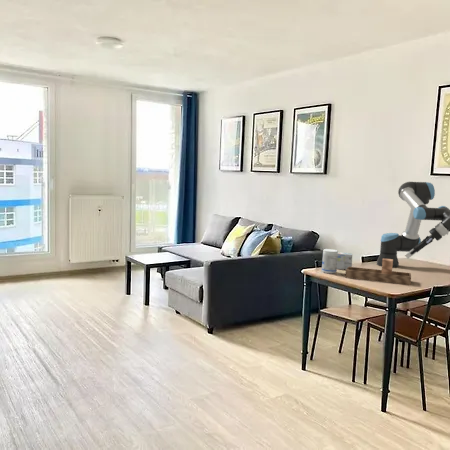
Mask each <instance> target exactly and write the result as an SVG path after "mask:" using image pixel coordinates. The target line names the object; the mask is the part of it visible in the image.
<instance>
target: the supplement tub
mask: <svg viewBox="0 0 450 450" xmlns="http://www.w3.org/2000/svg"><path fill="white" fill-rule="evenodd" d="M338 253H339V251H338V250H337V249H331V248H325V249H323V250H322V259H321V260H322V261H321V262H322V263H321V272H322V273H325V274H332V275H333V274H336V273H337V270H338V269H337V259H338Z"/></svg>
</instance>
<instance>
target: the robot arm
mask: <svg viewBox="0 0 450 450" xmlns="http://www.w3.org/2000/svg"><path fill="white" fill-rule="evenodd" d="M397 192H398V193H397V194H398V197H399V198H400V199H401V200H402V201H404V202H405V203H406V204H407V205H408V206H409V207H410V211H409V215H408V219H407V222H406V227H405V229H404V230H403V231H402V233H401V235H399V233H397V232H389V233H387V232H386V233H383V234H382V235H381V238H380V247H379V248H380V249H379V250H380V251H379V256H378V258H377V260H376V265H377V266H379V267H382V261H383V258H384V259H393V266H392V268H397V267H399V264H400V263H399V259H398V252H403V253H404V252H407V253H405V254H404V257H406V259H407V260H409V259H410V258H411V257H412V256H414V255H415V254H416V253H418V252H420V251H421V250H422V249H424V248H425V247H426V246H428V245H429V244H431V243H432V242H434V239H435V240H436V241H437V242H438V241H440V240H441V239H443V237H445V236H448V235H449V232H450V208H449V207H447V206H445V205H441V206H438V207H428V206H427V205H428V204H429V203H430V201H431V200H434V198H435V195H436V191H435V187H434V184H433V183H431V182H427V181H406V182H403V183H402V184H401V185H400V186H399V188H398V191H397ZM422 221H440V222H439V223H437V224H436V225H434V227H432V228H431V229H430V230H429V231H428V232H429V234H430V235H427V236H425V238H424V239H423V240H421V237H420V235H419V230H420V227H421V223H422Z"/></svg>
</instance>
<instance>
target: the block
mask: <svg viewBox="0 0 450 450" xmlns="http://www.w3.org/2000/svg"><path fill="white" fill-rule="evenodd" d="M392 266H393V259H384V258H383V261H382V266H381V270H382V273H383V274H392V271H393V267H392Z"/></svg>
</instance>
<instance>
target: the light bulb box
mask: <svg viewBox="0 0 450 450" xmlns="http://www.w3.org/2000/svg"><path fill="white" fill-rule="evenodd" d="M348 267H353V253H351V252H338V259H337V270H344V269H345V270H344V271H346V269H347V268H348Z"/></svg>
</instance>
